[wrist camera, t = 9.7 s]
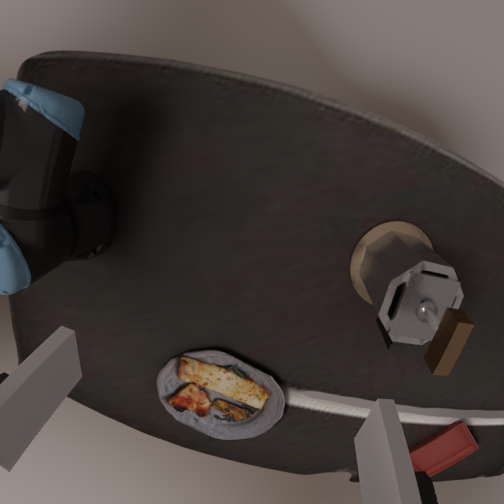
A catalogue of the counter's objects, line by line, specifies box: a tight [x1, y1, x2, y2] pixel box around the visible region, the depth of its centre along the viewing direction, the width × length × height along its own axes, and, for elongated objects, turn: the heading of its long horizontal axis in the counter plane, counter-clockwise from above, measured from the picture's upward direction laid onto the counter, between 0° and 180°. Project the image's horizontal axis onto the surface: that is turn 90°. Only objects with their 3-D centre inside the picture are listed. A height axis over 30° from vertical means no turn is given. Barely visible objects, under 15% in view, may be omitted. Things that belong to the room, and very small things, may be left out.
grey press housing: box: [350, 220, 464, 352], centre depth 40 cm, size 14×15×15 cm
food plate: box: [156, 349, 285, 440], centre depth 58 cm, size 25×23×4 cm
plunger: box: [393, 270, 474, 376], centre depth 34 cm, size 7×7×19 cm
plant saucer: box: [408, 422, 478, 477], centre depth 58 cm, size 18×18×3 cm
